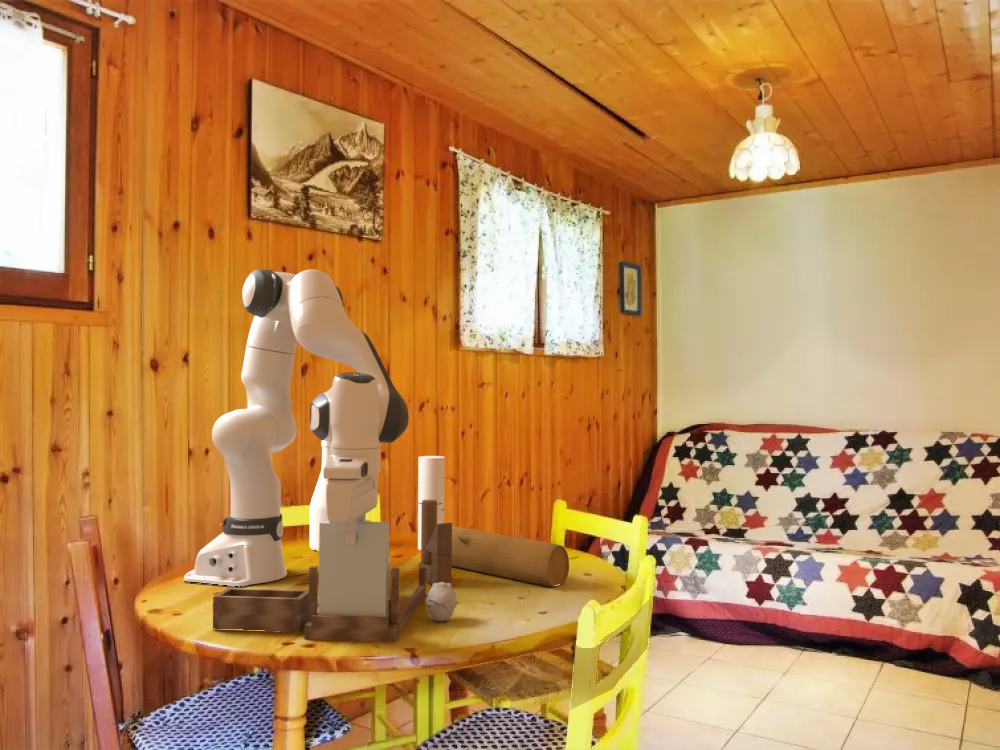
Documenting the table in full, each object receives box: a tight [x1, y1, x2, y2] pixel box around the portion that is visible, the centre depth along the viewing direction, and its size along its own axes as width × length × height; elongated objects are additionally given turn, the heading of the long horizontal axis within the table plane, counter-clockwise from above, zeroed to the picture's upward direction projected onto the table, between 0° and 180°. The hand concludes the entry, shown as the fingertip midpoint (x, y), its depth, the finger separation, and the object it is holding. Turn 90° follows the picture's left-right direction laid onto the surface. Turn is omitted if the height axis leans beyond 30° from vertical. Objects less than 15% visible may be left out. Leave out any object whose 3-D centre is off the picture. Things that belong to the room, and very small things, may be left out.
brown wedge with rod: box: [418, 500, 453, 586], centre depth 173 cm, size 4×11×18 cm, turn 29°
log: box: [451, 525, 570, 588], centre depth 182 cm, size 38×10×10 cm, turn 50°
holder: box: [212, 587, 309, 633], centre depth 140 cm, size 16×6×6 cm, turn 85°
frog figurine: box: [424, 582, 458, 622], centre depth 145 cm, size 6×7×7 cm
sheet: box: [318, 521, 390, 617], centre depth 136 cm, size 12×2×20 cm, turn 85°
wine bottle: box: [308, 440, 331, 552], centre depth 208 cm, size 10×10×30 cm
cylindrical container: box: [417, 455, 446, 551], centre depth 209 cm, size 7×7×25 cm
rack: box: [304, 565, 427, 643], centre depth 148 cm, size 16×30×12 cm, turn 175°
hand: (354, 541), depth 136 cm, fingers closed on sheet, 2 cm apart
